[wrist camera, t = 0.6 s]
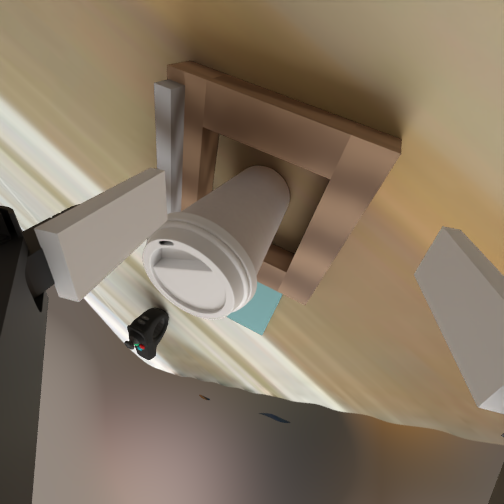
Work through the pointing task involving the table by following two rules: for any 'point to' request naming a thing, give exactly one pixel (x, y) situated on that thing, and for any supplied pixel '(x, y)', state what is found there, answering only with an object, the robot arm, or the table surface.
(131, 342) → the controller
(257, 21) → the table surface
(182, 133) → the cup holder
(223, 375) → the table surface
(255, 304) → the pad
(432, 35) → the table surface
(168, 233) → the coffee cup
